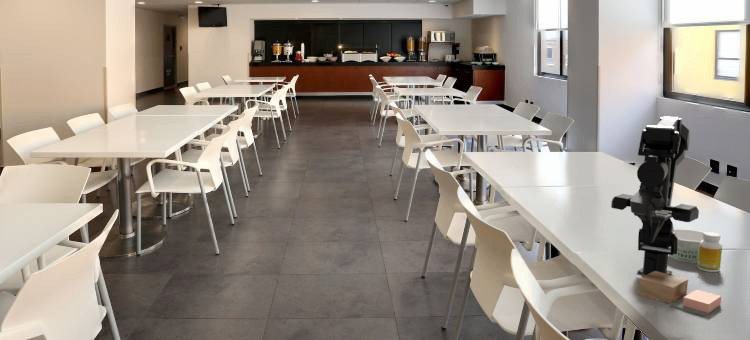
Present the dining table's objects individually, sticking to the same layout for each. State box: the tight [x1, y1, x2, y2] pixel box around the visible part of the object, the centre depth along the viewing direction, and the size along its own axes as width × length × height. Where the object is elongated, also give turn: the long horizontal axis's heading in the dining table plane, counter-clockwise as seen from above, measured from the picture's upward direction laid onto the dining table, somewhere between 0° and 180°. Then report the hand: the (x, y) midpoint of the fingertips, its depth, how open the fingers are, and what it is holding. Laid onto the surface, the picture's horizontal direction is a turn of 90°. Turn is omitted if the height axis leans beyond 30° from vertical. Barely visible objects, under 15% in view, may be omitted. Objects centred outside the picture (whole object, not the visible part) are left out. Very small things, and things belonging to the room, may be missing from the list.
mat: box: [669, 296, 721, 317], centre depth 149 cm, size 9×8×1 cm
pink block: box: [683, 289, 722, 314], centre depth 148 cm, size 7×6×2 cm
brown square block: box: [637, 271, 689, 305], centre depth 155 cm, size 8×8×4 cm
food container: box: [669, 228, 704, 264], centre depth 182 cm, size 12×12×6 cm
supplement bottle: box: [696, 231, 723, 273], centre depth 172 cm, size 5×5×10 cm
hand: (650, 242), depth 156 cm, fingers closed
